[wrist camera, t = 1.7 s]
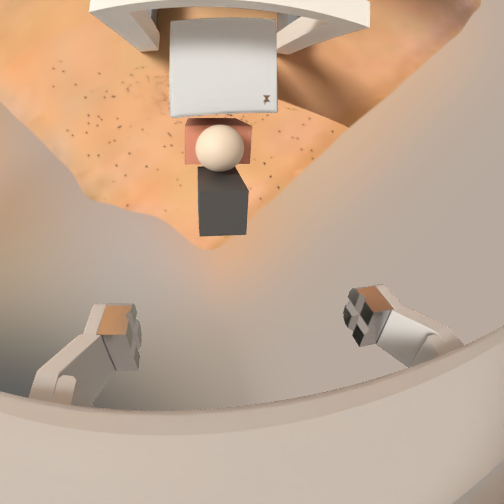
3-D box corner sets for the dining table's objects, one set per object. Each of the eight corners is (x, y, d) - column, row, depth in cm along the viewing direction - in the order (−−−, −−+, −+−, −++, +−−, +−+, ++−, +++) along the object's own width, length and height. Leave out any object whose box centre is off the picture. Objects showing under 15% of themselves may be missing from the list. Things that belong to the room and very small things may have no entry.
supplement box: (248, 47, 25) (281, 18, 14) (248, 109, 29) (280, 116, 18) (178, 49, 24) (168, 18, 13) (180, 112, 27) (169, 120, 17)
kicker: (188, 116, 27) (181, 130, 15) (235, 116, 28) (269, 131, 16) (187, 176, 30) (184, 237, 18) (233, 175, 31) (261, 234, 19)
